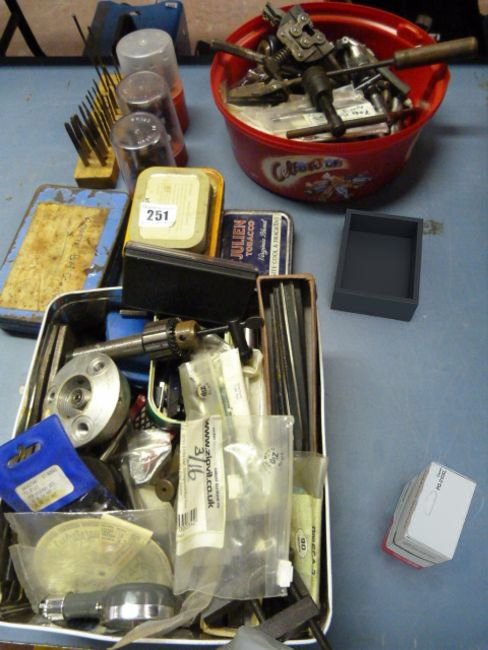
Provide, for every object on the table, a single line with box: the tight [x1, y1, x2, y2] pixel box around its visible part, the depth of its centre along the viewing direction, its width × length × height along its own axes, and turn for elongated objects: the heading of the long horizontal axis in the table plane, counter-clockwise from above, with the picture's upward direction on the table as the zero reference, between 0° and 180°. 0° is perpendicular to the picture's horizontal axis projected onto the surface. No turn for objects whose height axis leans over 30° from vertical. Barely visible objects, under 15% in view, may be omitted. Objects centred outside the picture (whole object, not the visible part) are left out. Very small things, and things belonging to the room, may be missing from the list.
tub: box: [330, 208, 424, 323], centre depth 76 cm, size 16×12×5 cm
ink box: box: [381, 461, 477, 570], centre depth 55 cm, size 8×5×12 cm, turn 152°
